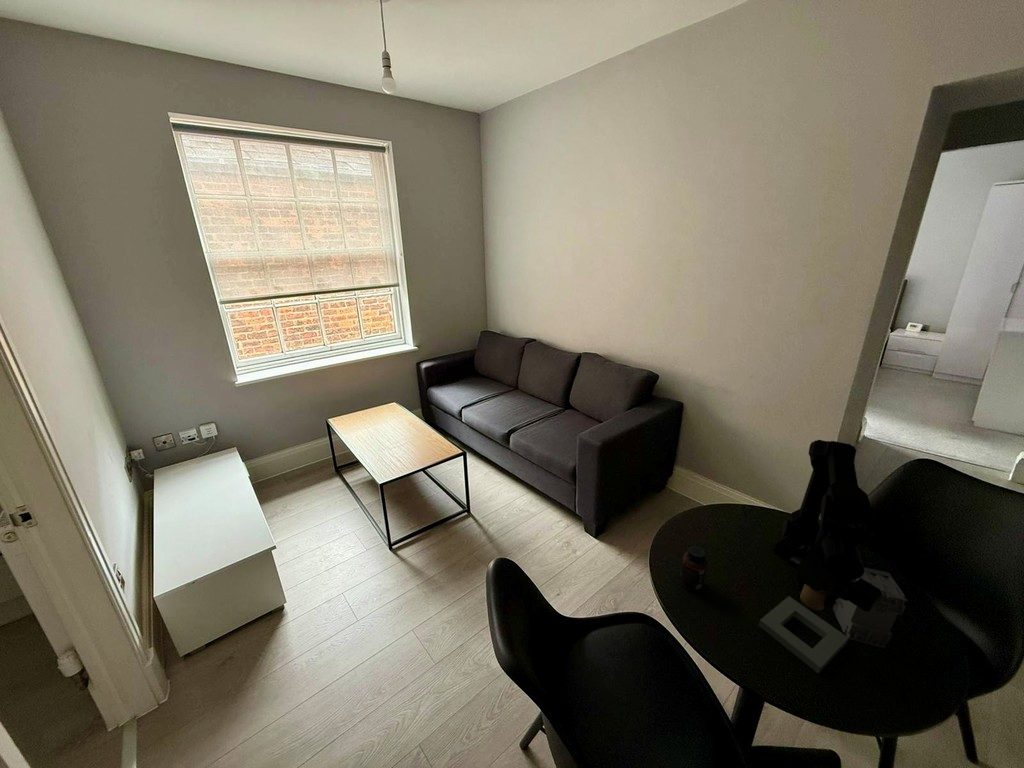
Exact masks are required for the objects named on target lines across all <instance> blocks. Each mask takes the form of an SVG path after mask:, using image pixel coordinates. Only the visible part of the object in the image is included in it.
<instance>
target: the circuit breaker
mask: <svg viewBox="0 0 1024 768" xmlns="http://www.w3.org/2000/svg"><path fill="white" fill-rule="evenodd" d="M860 578H861V579H863V580H865V581H867V582H868V583H870V584H872V585H873V586H875V587H877V588H878V589H880V590H881V592H882V594H883V595H882V598H881V600H880V601H879V602H878V603H877V604H876V605H875V606H874V607H873V608H872V609H871V610H870V611H869V612H867V611H864V610H862V609H861V608H859V607H857V606H856V605H854V604H853V603H851V602H850V601H849V600H848V601H845V600H843V599H841V598H839V599H836V600H835V603H834V604H833V606H832V610H833V612H834V613H833V614H834V615H835V618H836V619H837V622H838V623H839V626H840V628H841V630H842V633H843V634H844V635H845V636H847V637H848V638H849V639H848V640H852V641H856V642H859V643H860V642H861V643H863V644H867V645H872V646H874V647H879V648H882V649H886V644H887V645H888V643H889V642H890V640H891V637H892V635H893V633H892V631H891V629H892V628H893V626H894V623H895V621H896V619H897V618H898V615H901V616H902V615H903V613H904V611H905V609H906V604H905V602H908V599H907V598H905V597H906V596H905V594H904V593H903V591H902V590H901V588H900V586H898V584H897V582H896V581H895V579H894V577H892V575H891V573H890V572H888V571H884V570H883V571H882V570H878V569H873V568H869V567H864V574H863V575H862V576H861V577H860ZM860 578H858V579H855V580H857V581H858V580H859V579H860Z"/></svg>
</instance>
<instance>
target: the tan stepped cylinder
mask: <svg viewBox="0 0 1024 768" xmlns="http://www.w3.org/2000/svg"><path fill="white" fill-rule="evenodd" d="M830 593H831V592H829V591H826V592H824V591H823V590H821V591H815V590H813V589H811V588H810V587H809V586H808V585H806V584H804V587H803V589H802V591H801V593H800V596H799V598H800V601H801V602H802V603H803V604H804V605H805V607H808V608H810V609H812V610H814V611H822V610H824V609H825V607H824V603H825V601H826V599H827V597H828V596H829V594H830Z"/></svg>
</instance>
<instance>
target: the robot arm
mask: <svg viewBox="0 0 1024 768" xmlns="http://www.w3.org/2000/svg"><path fill="white" fill-rule="evenodd" d="M856 453H857V449H856V447H855V446H854V445H852V444H849V443H846V442H839V441H836V440H830V441H829V440H828V441H827V440H823V439H817V440H813V441H812V442H810V444H809V448H808V456H809V459H810V460H809V461H810V465H811V467H812V472H811V475H810V478H809V481H808V483H807V487H806V489H805V493H804V496H803V498H802V502H801V505H800V508H799V509H796V510H794V511H792V512H791V514H790V516H789V518H788V519H785V520H784V521H783V523H782V526H781V538H780V539H779V540H777V541H776V542H775V543H774V544H773V548H772V553H773V554H775V555H776V556H777V557H779V558H781V559H782V560H784V561H787V564H788V566H790V567H791V568H793V569H794V570H795V579H797V581H798V588H799V591H801V592H802V589H803V587H804V584H806V585H808V586H809V587H810V588H811V589H813V590H815V591H821V590H823V591H824V592H826V591H829V592H830V594H829V596H828V597H827V599H826V601H825V603H824V608H827V607H828V606H829V605H830V604H832V603H833V602H834V601H836V599H839V598H841V599H843V600H845V601H848V600H849V601H850V602H851V603H853V604H854V605H856V606H857V607H859V608H861V609H862V610H864V611H867V612H869V611H870V610H871V609H872V608H873V607H874V606H875V605H876V604H877V603H878V602H879V601H880V600H881V598H882V595H883V594H882V592H881V590H880V589H878V588H877V587H875V586H873V585H872V584H870V583H868V582H867V581H865V580H863V579H861V578H860V577H861V576H862V575H863V574H864V568H865V567H864V564H863V561H862V556H861V553H860V550H859V546H858V545H859V542H864V543H867V544H870V542H871V536H875V527H876V525H875V524H876V512H875V508H874V506H873V505H871V501H870V498H869V495H868V493H867V492H865V491H864V490H863V489H862V488H861V487H859V484H858V478H857V472H856V465H855V461H856V460H855V459H856ZM854 526H856V527H863V530H862V529H858V528H856V527H854ZM810 547H811V550H810V552H809V553H808V554H807V552H808V550H809V549H810ZM858 578H860V579H859V580H858V581H857V580H855V579H858Z"/></svg>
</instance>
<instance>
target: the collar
mask: <svg viewBox="0 0 1024 768" xmlns="http://www.w3.org/2000/svg"><path fill="white" fill-rule="evenodd" d="M793 617H794V618H795V619H797V620H798V621H800V623H802V624H803V625H805V626H806V627H807V628H809V629H810V630H811V631H813V632H815V634H817V635H818V636H820V637H821V640H820V641H818V643H817V644H815V645H814V647H811V646H810V645H809V644H807V643H806V642H804V641H803V640H802V639H800V637H798V636H796V635H795V634H794V633H792V632H791V631H790V630H788V629H787V628H786V627H785V626H784V625H785V624H786V623H788V622H789V621H790V620H791V619H792V618H793ZM758 626H759V628H761V629H762V630H763V631H764V632H766V633H767V634H768V635H769V636H771V637H772V638H773V639H775V640H776V641H777V642H778V643H779V644H781V645H782V646H783V647H785V648H786V649H787V650H789V652H791V653H792V654H793V655H794V656H796V657H797V658H798V659H800V660H801V661H802V662H803V663H804V664H806V665H807V666H808V667H810V669H812V670H813V671H815V673H816V674H819V673H821V672H822V671H823V669H824V668H825V667H826V666H827V665H828V664H829V663H830V662H831V661H832V660H833V659H834V658H835V656H837V654H839V652H840V651H842V649H843V648H844V647H845V646H846V645H847V643H848V641H849V640H850V639H849V638H848V637H847V635H846V634H845V633H843V632H841V631H840V630H838V629H837V628H835V627H833V626H832V625H831V624H830V623H829V622H827V621H825V620H824V619H822V618H821V617H819V616H818V615H817V614H815V612H812V611H811V610H809V609H808V608H807V607H806V606H803V605H802V604H801V603H800V602H798V601H797V600H795V599H794V598H792V597H791V596H790V595H788V596H787V597H786V598H784V600H782V601H781V602H780V603H779V604H777V605H776V606H775V607H774V608H772V609H771V610H770V611H768V613H767V614H765V615H764V616H763V617H762V618H760V619H759V623H758Z"/></svg>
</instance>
